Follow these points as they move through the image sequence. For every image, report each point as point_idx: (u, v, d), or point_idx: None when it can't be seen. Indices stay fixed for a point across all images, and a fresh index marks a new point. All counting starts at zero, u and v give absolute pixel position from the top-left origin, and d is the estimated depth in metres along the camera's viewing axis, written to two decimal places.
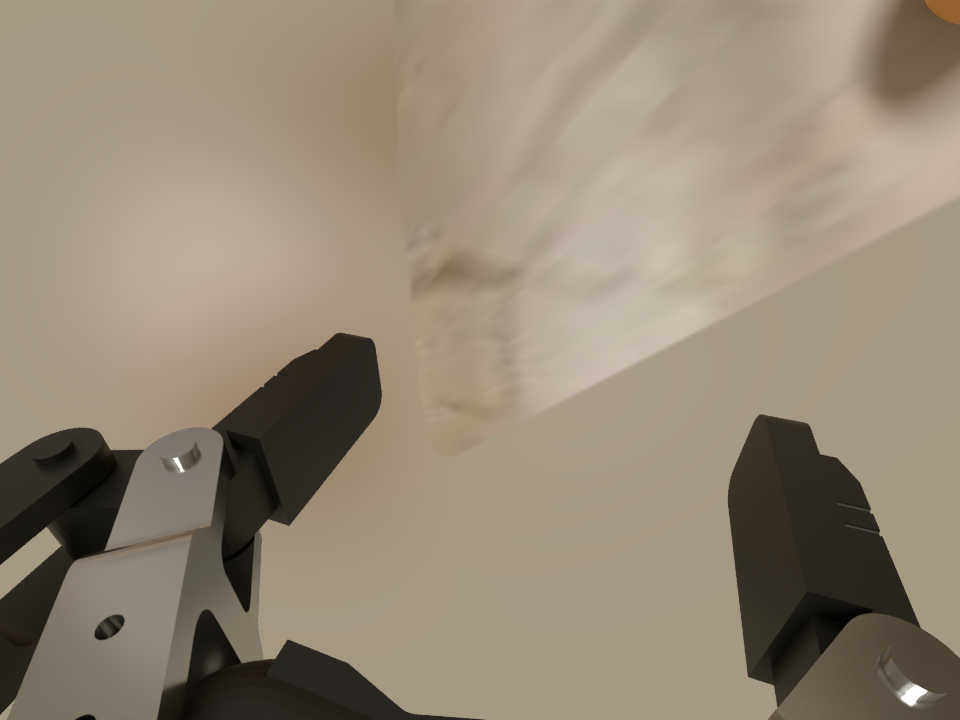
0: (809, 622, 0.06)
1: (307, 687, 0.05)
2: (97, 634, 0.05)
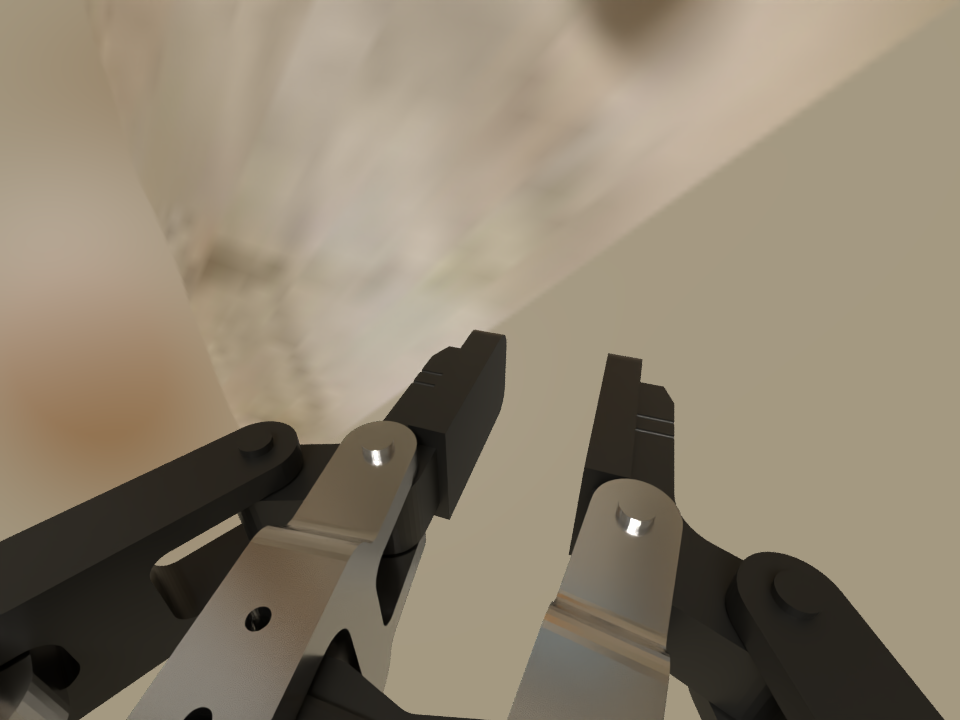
0: None
1: None
2: (248, 619, 0.05)
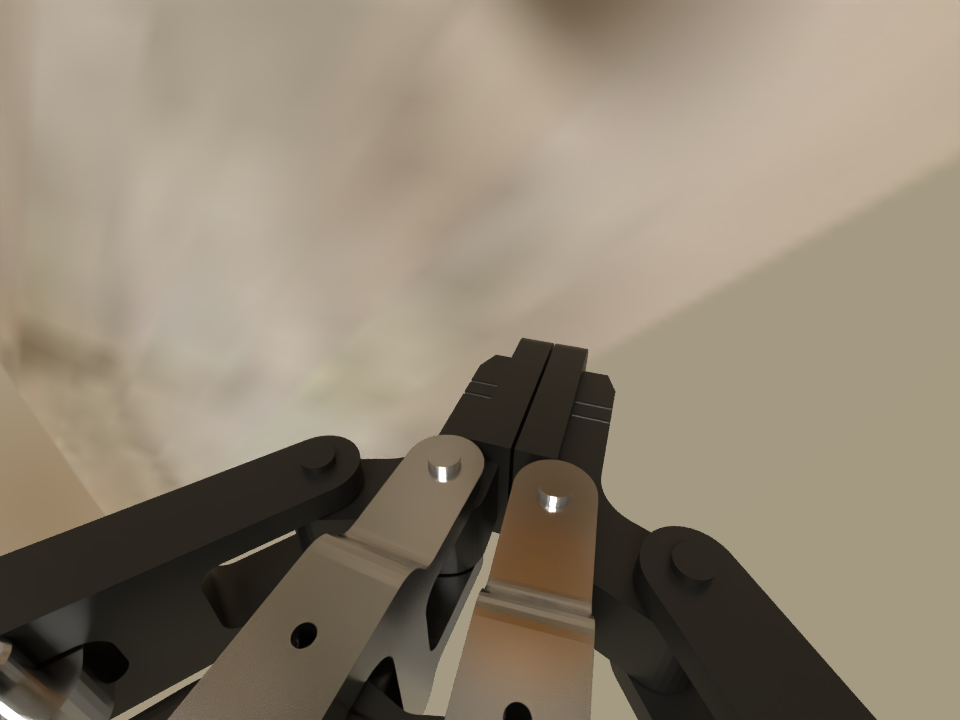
0: None
1: None
2: (294, 632, 0.05)
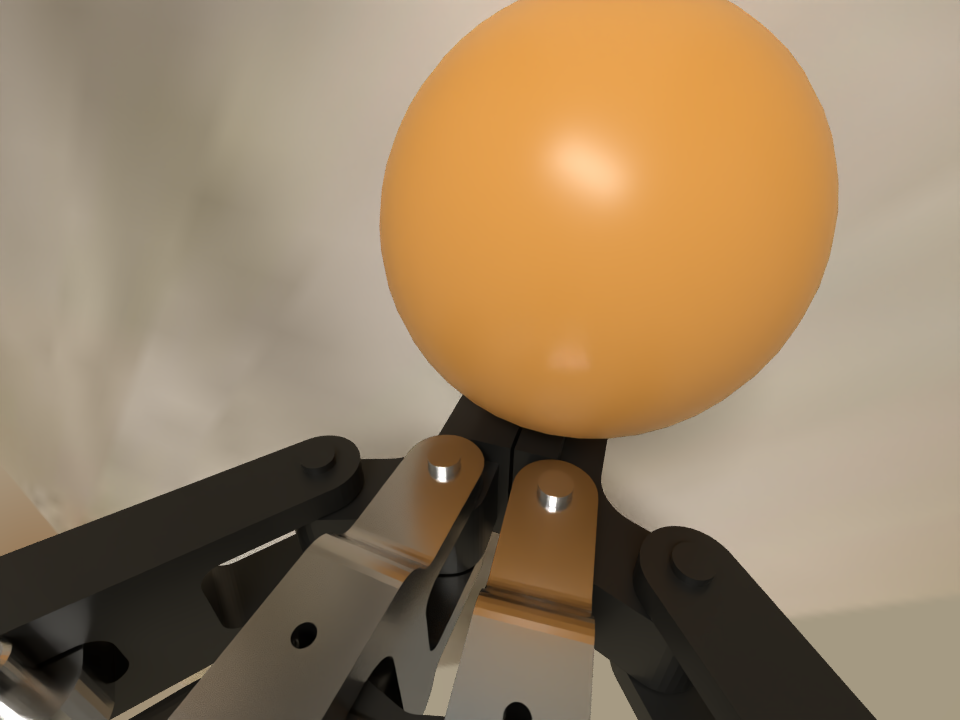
0: None
1: None
2: (294, 633, 0.05)
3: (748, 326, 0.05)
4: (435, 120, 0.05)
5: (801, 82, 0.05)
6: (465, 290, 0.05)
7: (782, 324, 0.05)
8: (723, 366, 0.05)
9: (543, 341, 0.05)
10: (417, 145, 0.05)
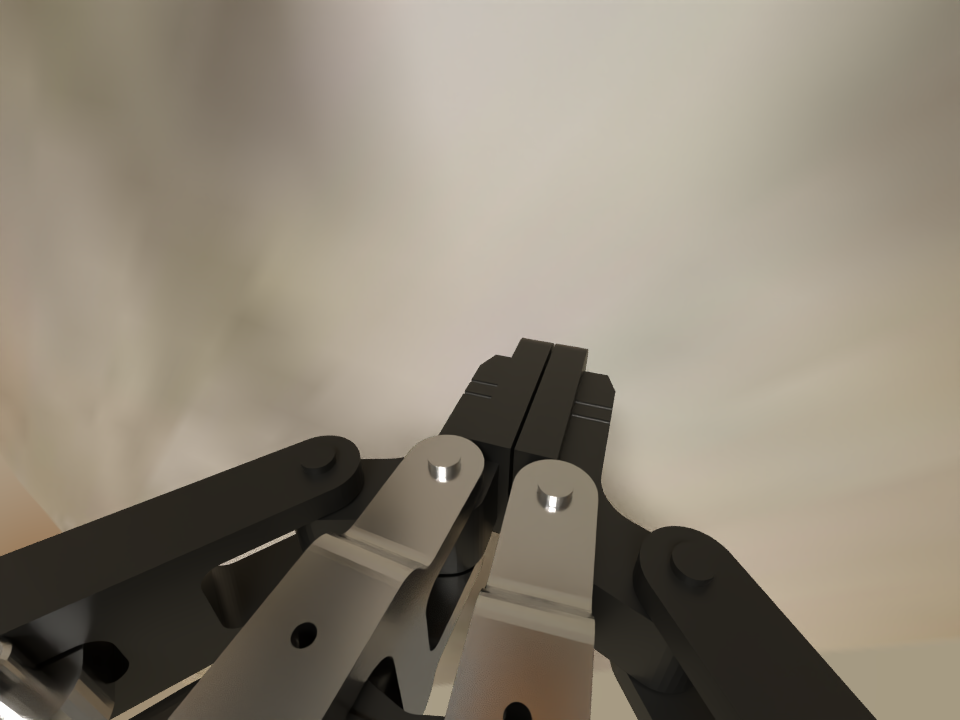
0: None
1: None
2: (294, 633, 0.05)
3: None
4: None
5: None
6: None
7: None
8: None
9: None
10: None
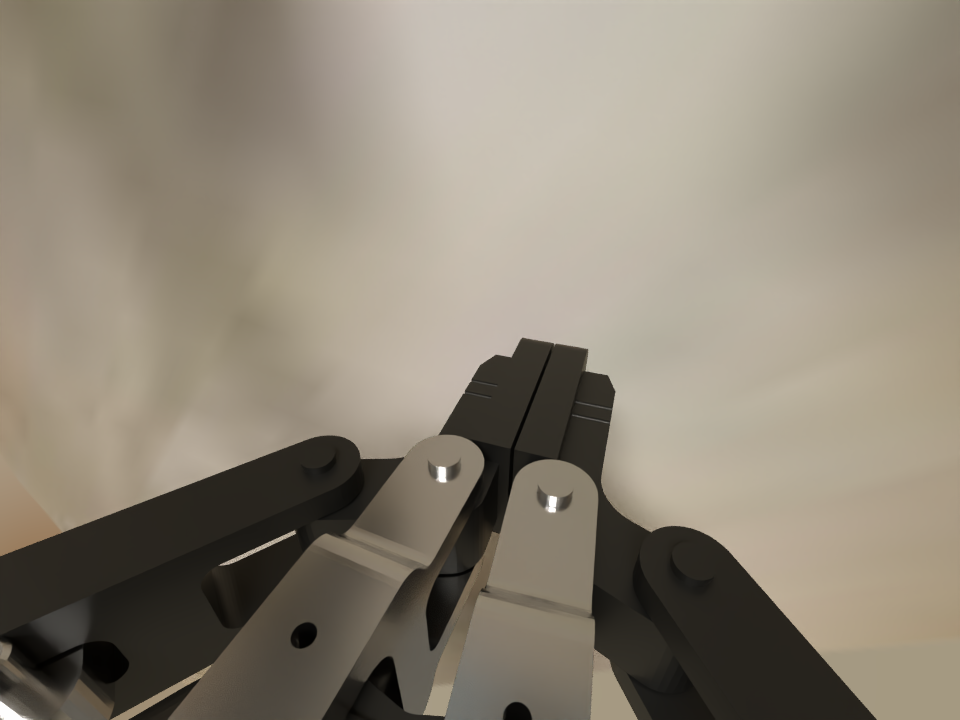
0: None
1: None
2: (294, 633, 0.05)
3: None
4: None
5: None
6: None
7: None
8: None
9: None
10: None
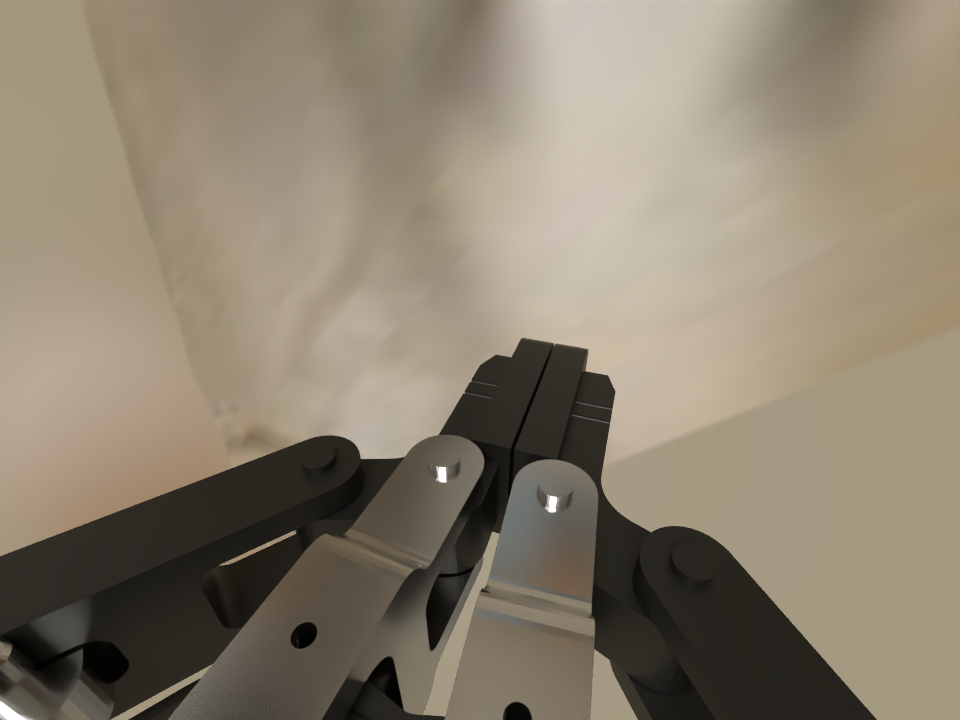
0: None
1: None
2: (294, 633, 0.05)
3: None
4: None
5: None
6: None
7: None
8: None
9: None
10: None
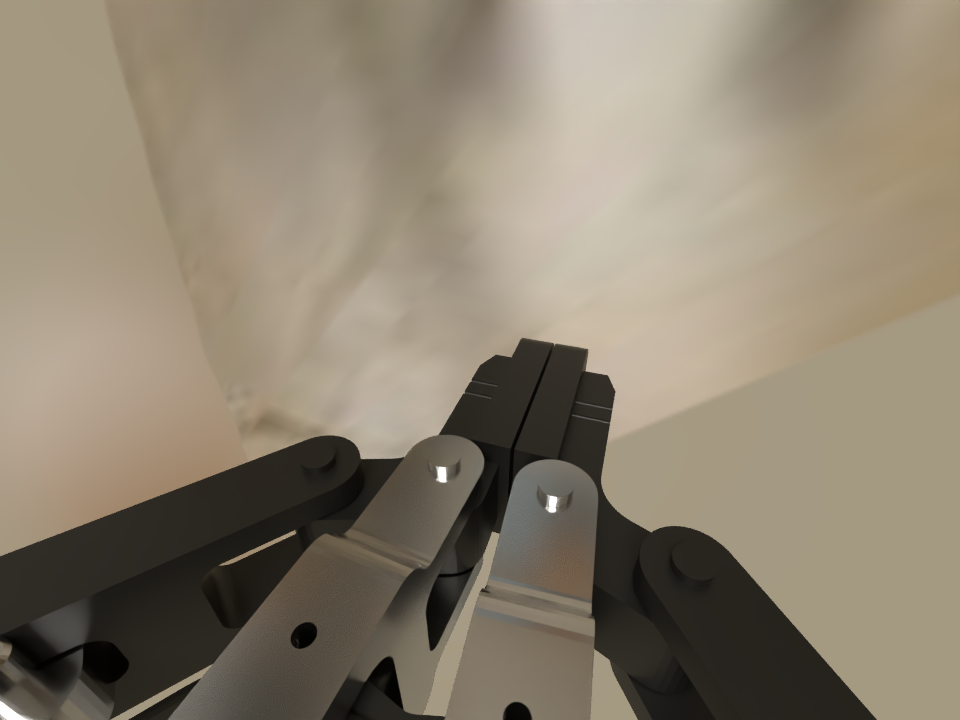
0: None
1: None
2: (294, 633, 0.05)
3: None
4: None
5: None
6: None
7: None
8: None
9: None
10: None
